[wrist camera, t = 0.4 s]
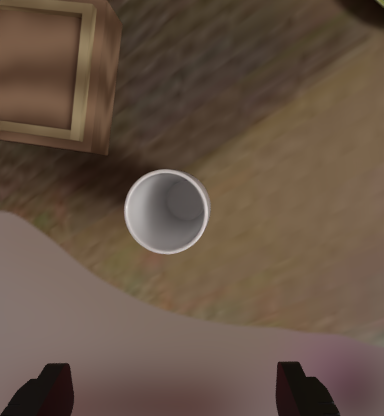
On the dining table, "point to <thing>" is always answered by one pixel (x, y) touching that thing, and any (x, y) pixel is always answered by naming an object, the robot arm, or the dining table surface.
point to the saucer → (380, 3)
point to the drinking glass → (167, 210)
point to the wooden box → (58, 73)
